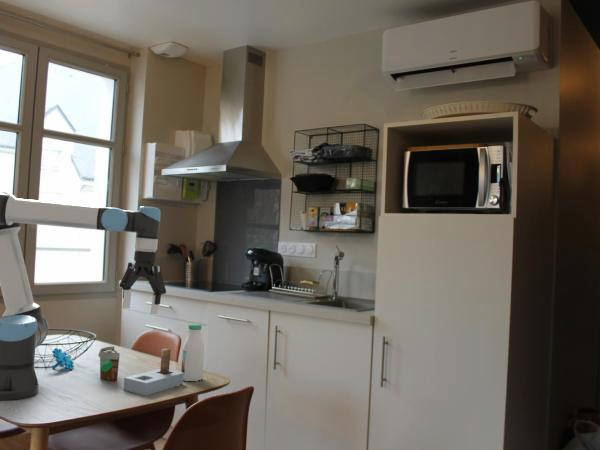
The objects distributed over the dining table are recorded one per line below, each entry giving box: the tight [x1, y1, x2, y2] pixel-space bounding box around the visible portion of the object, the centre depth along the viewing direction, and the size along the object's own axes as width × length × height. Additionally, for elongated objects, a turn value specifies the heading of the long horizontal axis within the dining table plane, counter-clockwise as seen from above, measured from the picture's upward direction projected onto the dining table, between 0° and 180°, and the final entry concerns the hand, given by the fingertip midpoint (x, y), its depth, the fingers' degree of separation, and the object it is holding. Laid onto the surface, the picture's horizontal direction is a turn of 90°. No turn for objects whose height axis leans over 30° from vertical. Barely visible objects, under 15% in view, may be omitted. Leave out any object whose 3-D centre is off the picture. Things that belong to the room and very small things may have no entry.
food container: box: [97, 346, 120, 382], centre depth 196 cm, size 12×6×10 cm, turn 27°
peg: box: [159, 348, 171, 375], centre depth 193 cm, size 3×3×12 cm
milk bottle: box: [180, 323, 205, 382], centre depth 202 cm, size 8×8×20 cm
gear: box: [51, 347, 75, 371], centre depth 205 cm, size 11×6×10 cm
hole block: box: [122, 368, 184, 396], centre depth 189 cm, size 18×10×4 cm, turn 151°
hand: (139, 311), depth 194 cm, fingers open, 13 cm apart
